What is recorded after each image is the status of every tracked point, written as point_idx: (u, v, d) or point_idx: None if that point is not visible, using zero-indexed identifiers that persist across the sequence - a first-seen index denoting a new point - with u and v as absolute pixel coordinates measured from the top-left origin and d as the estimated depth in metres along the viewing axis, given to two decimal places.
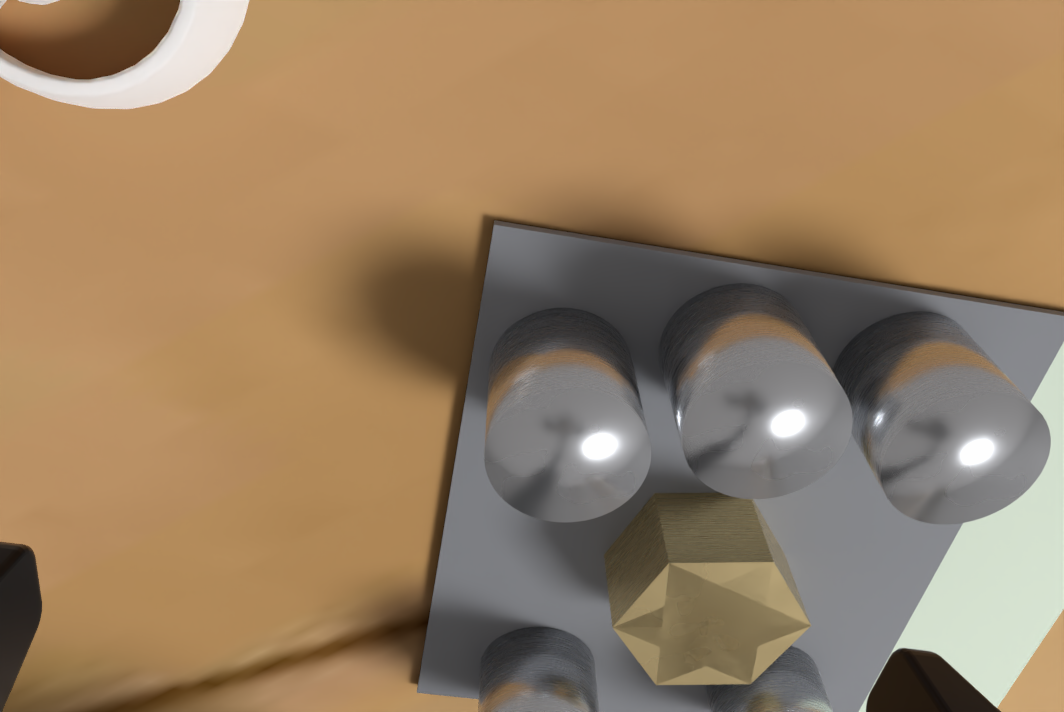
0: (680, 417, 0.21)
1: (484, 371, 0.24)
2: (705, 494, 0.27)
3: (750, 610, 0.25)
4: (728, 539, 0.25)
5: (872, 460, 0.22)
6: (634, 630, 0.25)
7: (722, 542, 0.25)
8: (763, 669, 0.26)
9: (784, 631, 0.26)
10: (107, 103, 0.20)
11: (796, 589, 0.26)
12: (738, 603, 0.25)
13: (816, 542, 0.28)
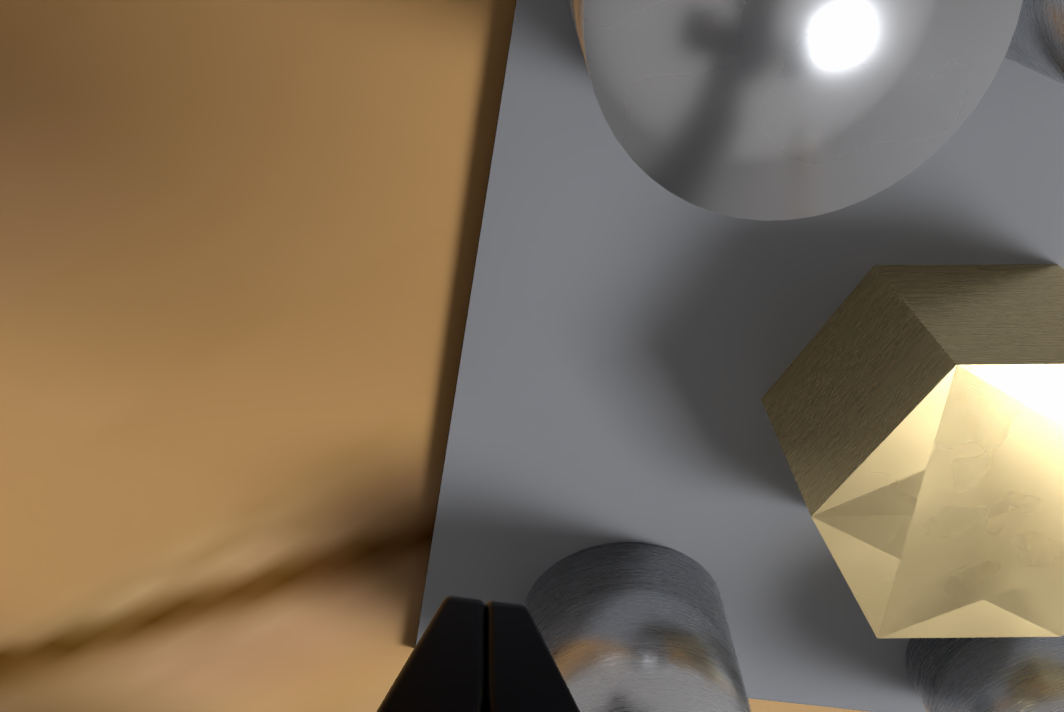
0: None
1: None
2: (973, 266, 0.14)
3: None
4: (1060, 329, 0.12)
5: None
6: (854, 523, 0.12)
7: (1050, 333, 0.12)
8: None
9: None
10: None
11: None
12: None
13: None
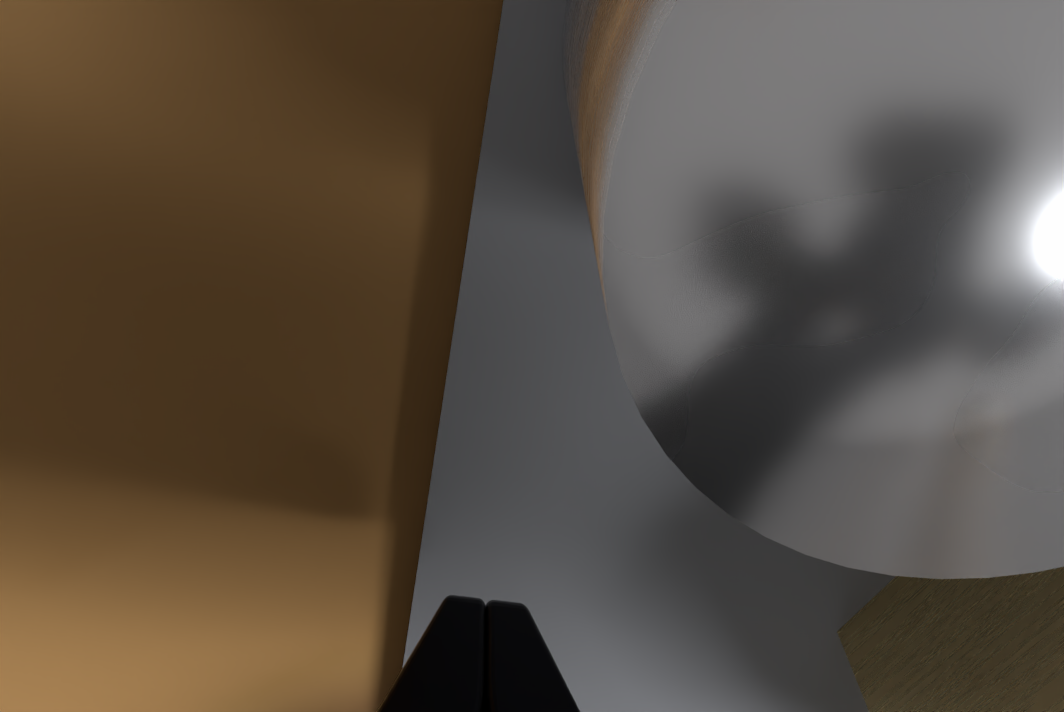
0: None
1: (546, 45, 0.07)
2: None
3: None
4: None
5: None
6: None
7: None
8: None
9: None
10: None
11: None
12: None
13: None
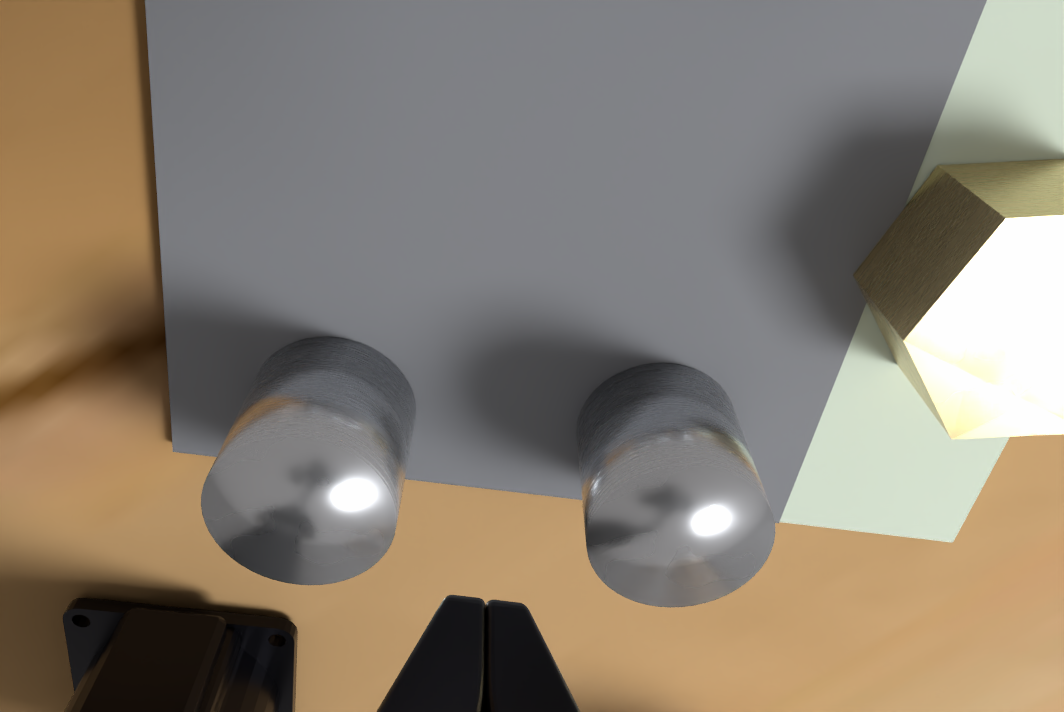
0: None
1: None
2: (1011, 162, 0.18)
3: None
4: None
5: None
6: (934, 344, 0.17)
7: None
8: None
9: None
10: None
11: None
12: None
13: (713, 179, 0.19)
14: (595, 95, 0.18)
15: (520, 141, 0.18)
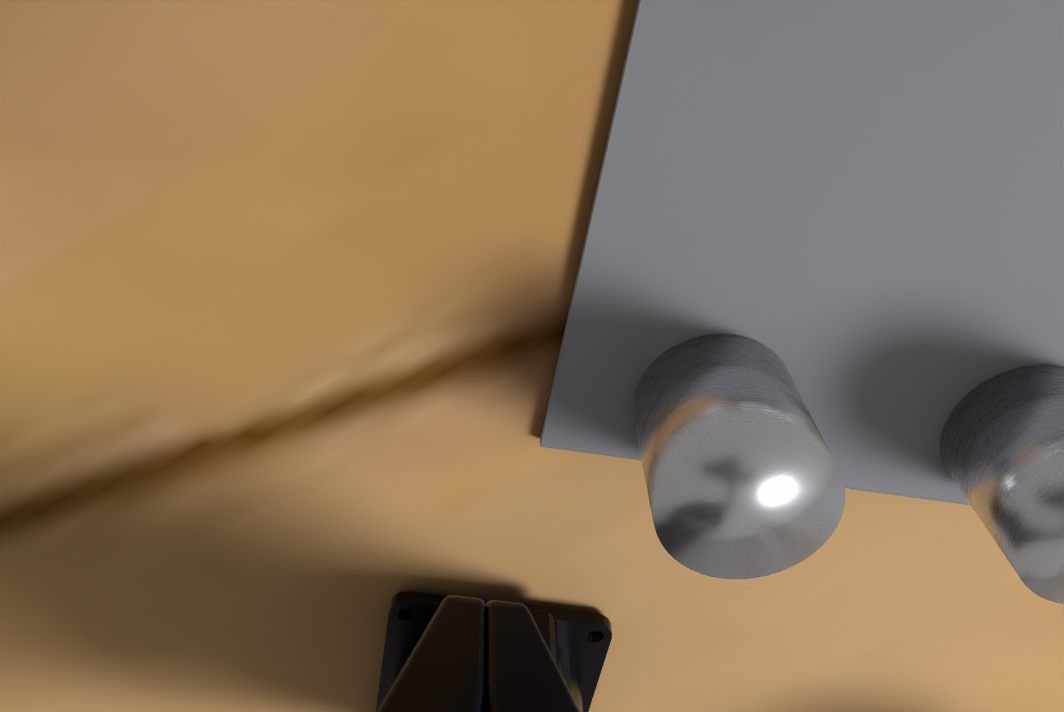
0: None
1: None
2: None
3: None
4: None
5: None
6: None
7: None
8: None
9: None
10: None
11: None
12: None
13: None
14: (1052, 100, 0.18)
15: (967, 144, 0.19)
